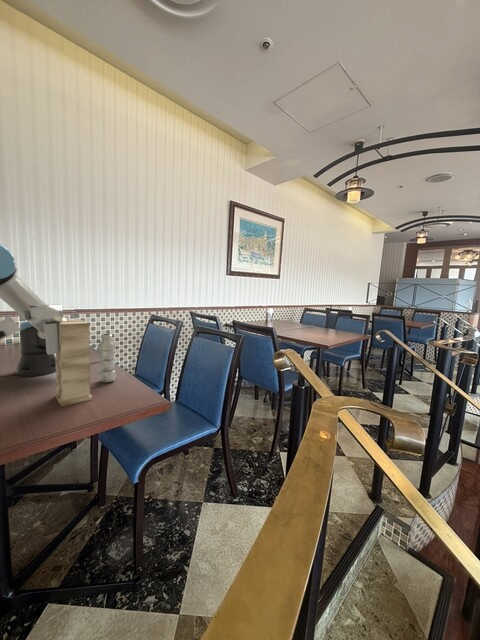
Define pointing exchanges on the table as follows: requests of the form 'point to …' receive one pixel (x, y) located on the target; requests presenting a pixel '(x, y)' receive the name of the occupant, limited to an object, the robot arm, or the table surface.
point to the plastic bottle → (106, 359)
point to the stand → (73, 362)
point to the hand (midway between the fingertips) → (15, 322)
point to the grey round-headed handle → (47, 323)
